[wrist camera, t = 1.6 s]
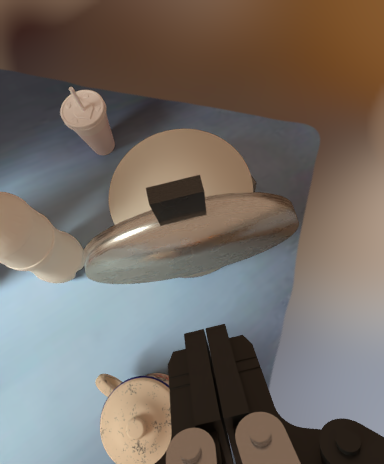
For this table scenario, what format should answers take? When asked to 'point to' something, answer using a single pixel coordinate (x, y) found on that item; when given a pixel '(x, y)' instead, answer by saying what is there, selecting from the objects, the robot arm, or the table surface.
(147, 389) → the teacup with lid
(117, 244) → the cooker lid
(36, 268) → the water bottle
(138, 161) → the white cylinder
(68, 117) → the smoothie
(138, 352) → the table surface
